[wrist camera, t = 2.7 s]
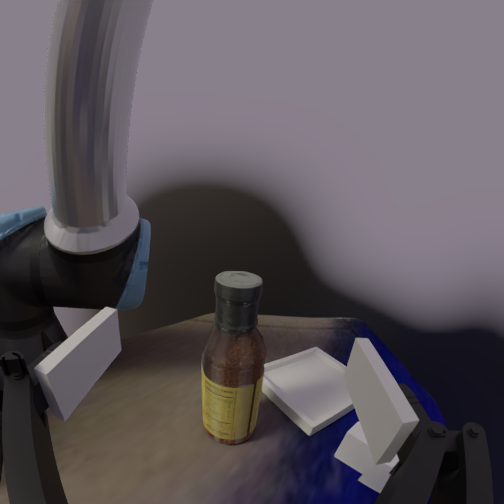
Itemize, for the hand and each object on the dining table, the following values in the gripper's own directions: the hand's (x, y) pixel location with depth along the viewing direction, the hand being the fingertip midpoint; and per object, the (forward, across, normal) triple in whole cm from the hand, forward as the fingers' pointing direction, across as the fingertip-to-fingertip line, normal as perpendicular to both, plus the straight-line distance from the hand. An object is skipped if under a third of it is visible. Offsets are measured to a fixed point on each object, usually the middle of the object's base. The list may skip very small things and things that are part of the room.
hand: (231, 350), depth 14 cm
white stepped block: (+3, +17, -20) cm, 26 cm away
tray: (+20, +12, -19) cm, 30 cm away
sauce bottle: (+10, 0, -19) cm, 22 cm away
